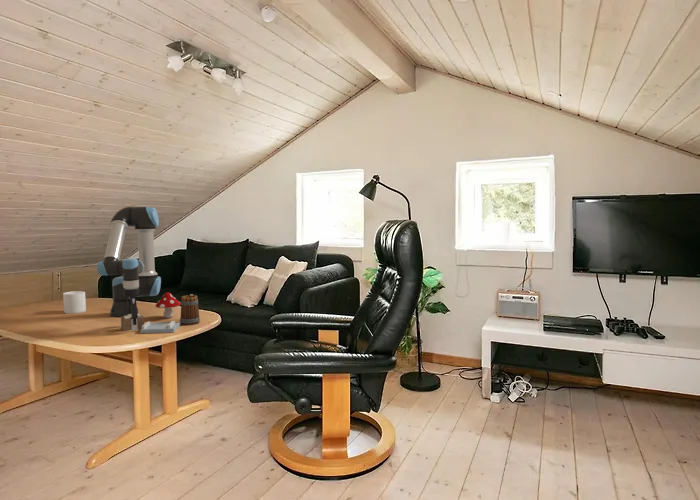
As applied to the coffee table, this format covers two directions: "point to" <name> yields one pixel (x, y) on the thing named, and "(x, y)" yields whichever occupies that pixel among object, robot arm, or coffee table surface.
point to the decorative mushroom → (168, 304)
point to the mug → (189, 310)
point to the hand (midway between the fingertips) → (132, 328)
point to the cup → (74, 302)
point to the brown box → (127, 322)
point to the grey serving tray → (160, 327)
